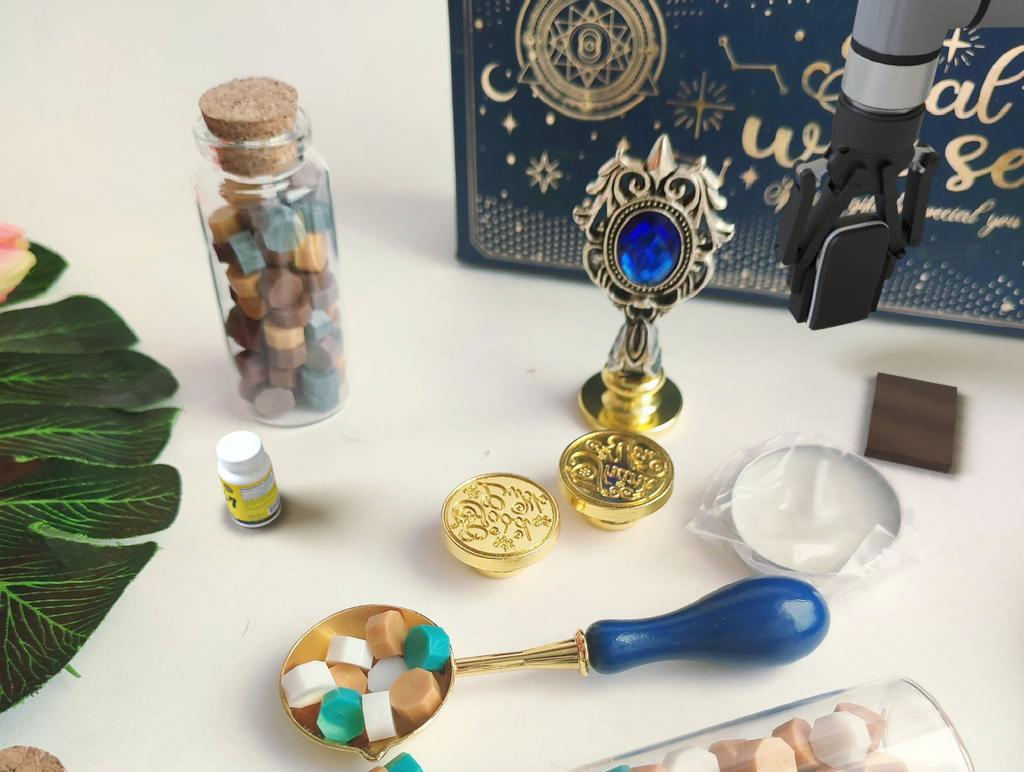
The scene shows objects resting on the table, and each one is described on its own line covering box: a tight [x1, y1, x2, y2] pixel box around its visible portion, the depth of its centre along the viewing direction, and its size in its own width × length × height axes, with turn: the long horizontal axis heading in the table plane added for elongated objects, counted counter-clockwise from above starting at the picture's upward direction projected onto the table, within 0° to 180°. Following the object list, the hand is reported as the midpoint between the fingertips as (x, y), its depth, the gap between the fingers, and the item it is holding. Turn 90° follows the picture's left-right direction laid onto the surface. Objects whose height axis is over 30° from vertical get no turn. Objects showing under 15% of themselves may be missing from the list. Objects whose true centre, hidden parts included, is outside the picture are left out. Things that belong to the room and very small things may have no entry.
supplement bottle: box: [216, 430, 282, 528], centre depth 98 cm, size 5×5×8 cm
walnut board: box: [863, 371, 958, 474], centre depth 108 cm, size 12×8×1 cm, turn 162°
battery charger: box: [804, 212, 890, 332], centre depth 107 cm, size 7×4×11 cm, turn 108°
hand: (831, 309), depth 111 cm, fingers closed on battery charger, 7 cm apart
